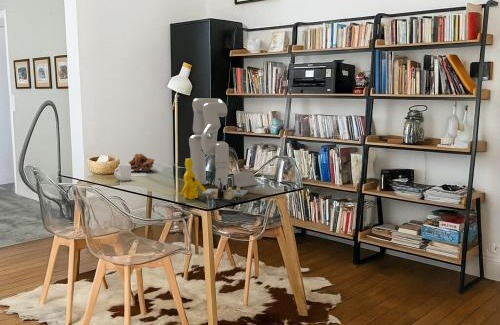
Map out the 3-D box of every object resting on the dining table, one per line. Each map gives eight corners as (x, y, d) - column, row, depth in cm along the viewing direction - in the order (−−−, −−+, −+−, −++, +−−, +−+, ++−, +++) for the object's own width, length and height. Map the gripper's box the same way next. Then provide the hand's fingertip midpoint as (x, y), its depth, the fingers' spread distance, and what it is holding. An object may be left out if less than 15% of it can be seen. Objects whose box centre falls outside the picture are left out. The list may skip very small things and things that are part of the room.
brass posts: (227, 191, 302) (227, 187, 302) (228, 191, 304) (228, 187, 304) (239, 192, 300) (239, 188, 300) (240, 191, 302) (240, 187, 302)
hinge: (237, 187, 323) (233, 171, 324) (232, 189, 327) (229, 173, 328) (257, 184, 333) (254, 169, 334) (253, 186, 337) (250, 171, 338)
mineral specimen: (130, 175, 399) (127, 155, 399) (156, 170, 403) (152, 151, 403) (129, 175, 378) (125, 155, 378) (156, 170, 382) (152, 150, 381)
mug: (117, 182, 343) (117, 166, 342) (111, 180, 349) (110, 165, 348) (133, 179, 351) (133, 164, 350) (127, 178, 357) (126, 163, 356)
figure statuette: (182, 201, 281) (181, 161, 279) (174, 199, 287) (173, 159, 284) (208, 196, 293) (207, 158, 290) (199, 195, 299) (199, 157, 296)
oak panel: (210, 198, 289) (210, 191, 288) (213, 196, 295) (213, 189, 294) (231, 199, 286) (231, 192, 286) (234, 197, 292) (234, 190, 292)
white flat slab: (202, 194, 300) (201, 192, 300) (208, 190, 312) (208, 188, 312) (242, 196, 295) (242, 194, 294) (247, 192, 307) (247, 190, 307)
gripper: (219, 163, 297) (220, 194, 300) (210, 167, 281) (211, 199, 283) (232, 163, 296) (232, 194, 298) (224, 167, 279) (224, 200, 281)
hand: (222, 196), depth 290 cm, fingers closed on oak panel, 6 cm apart
